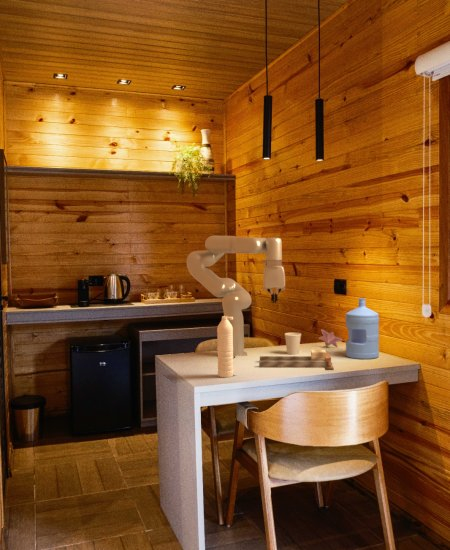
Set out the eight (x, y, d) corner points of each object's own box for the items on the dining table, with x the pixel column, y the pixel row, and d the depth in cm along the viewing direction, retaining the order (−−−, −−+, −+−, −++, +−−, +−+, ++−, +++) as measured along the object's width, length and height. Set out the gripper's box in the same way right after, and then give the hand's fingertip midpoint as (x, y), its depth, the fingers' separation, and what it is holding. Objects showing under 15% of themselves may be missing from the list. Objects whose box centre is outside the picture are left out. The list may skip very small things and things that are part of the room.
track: (259, 369, 245) (259, 358, 244) (259, 363, 259) (259, 352, 258) (333, 369, 242) (333, 358, 242) (330, 363, 256) (330, 352, 256)
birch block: (311, 366, 246) (311, 352, 246) (311, 363, 252) (310, 349, 252) (325, 366, 245) (325, 352, 245) (324, 363, 251) (324, 349, 251)
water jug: (367, 352, 281) (367, 296, 280) (385, 358, 266) (385, 299, 265) (339, 354, 276) (339, 298, 275) (356, 360, 261) (356, 300, 260)
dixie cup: (303, 352, 283) (303, 333, 282) (298, 355, 275) (297, 335, 275) (288, 351, 287) (287, 332, 286) (282, 354, 279) (281, 334, 279)
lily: (344, 351, 291) (346, 334, 295) (327, 344, 286) (329, 327, 290) (329, 355, 300) (330, 338, 304) (312, 348, 296) (314, 331, 300)
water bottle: (215, 375, 235) (214, 315, 234) (228, 373, 238) (227, 314, 237) (225, 379, 227) (224, 318, 226) (239, 377, 231) (238, 316, 229)
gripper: (257, 264, 262) (258, 303, 263) (290, 263, 260) (290, 303, 261) (258, 263, 269) (258, 302, 270) (289, 263, 268) (290, 301, 269)
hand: (274, 302), depth 266 cm, fingers closed
